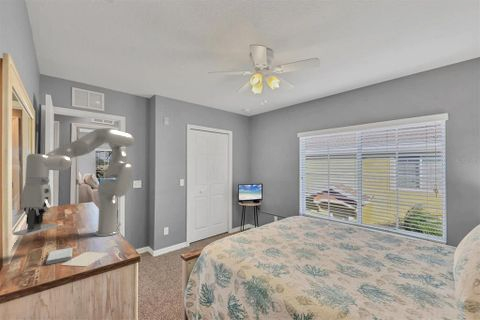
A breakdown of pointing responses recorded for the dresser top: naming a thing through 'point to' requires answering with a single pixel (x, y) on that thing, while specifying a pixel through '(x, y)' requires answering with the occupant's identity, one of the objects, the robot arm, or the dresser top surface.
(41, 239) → the dresser top surface
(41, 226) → the scraper
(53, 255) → the hard drive
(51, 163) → the robot arm
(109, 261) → the dresser top surface
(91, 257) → the board
